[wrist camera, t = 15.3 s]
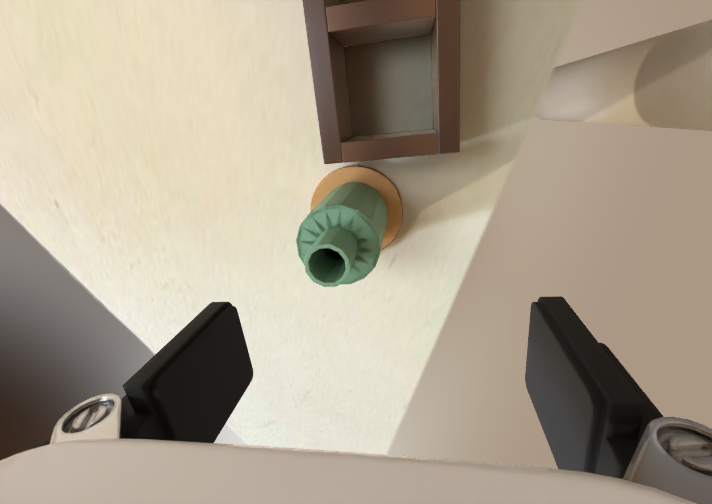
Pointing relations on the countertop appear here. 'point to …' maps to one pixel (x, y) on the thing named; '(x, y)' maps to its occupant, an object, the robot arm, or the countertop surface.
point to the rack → (376, 24)
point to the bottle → (343, 235)
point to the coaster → (373, 180)
